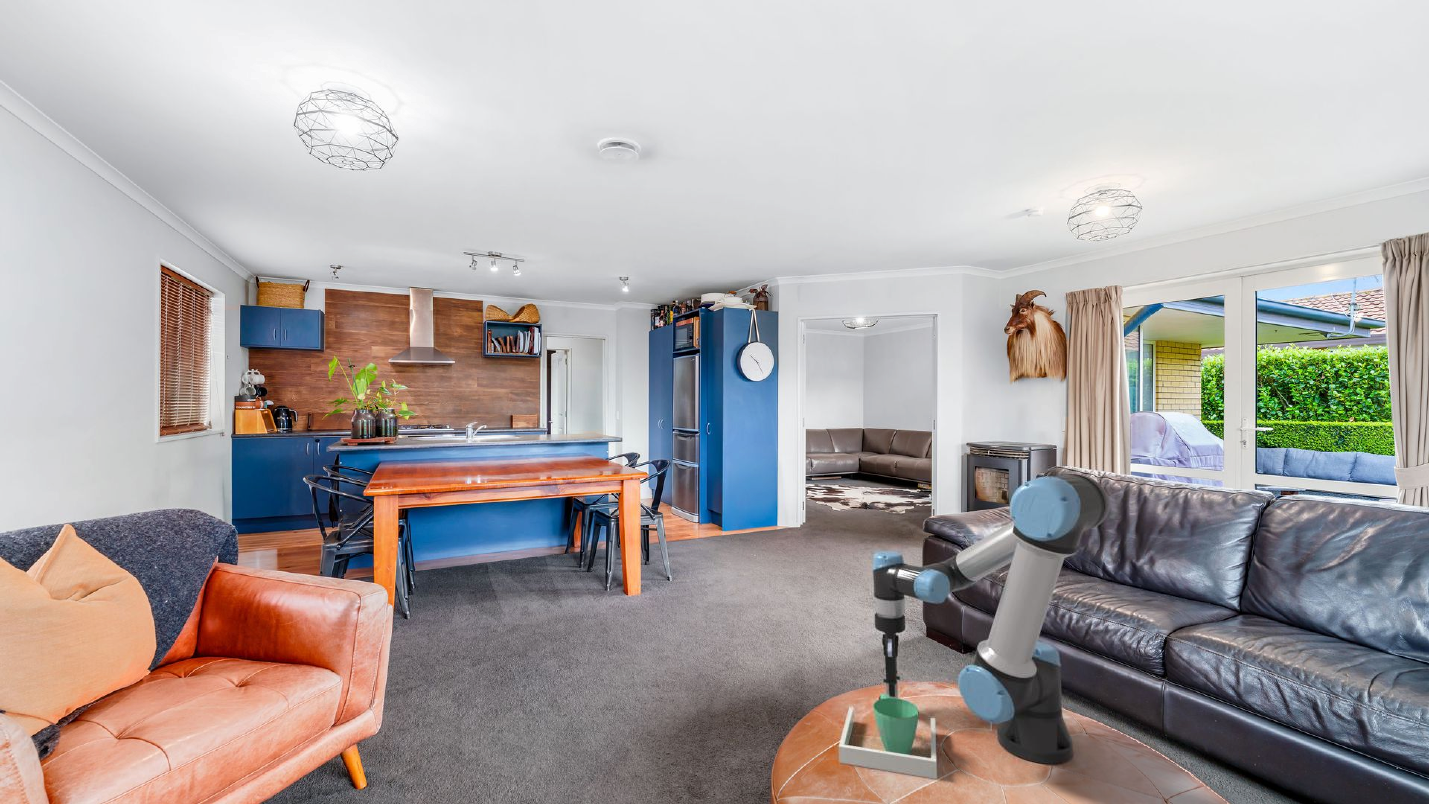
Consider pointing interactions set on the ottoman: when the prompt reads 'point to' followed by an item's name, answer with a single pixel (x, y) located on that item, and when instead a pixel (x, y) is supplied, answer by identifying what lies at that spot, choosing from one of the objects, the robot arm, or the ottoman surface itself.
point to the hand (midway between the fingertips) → (892, 707)
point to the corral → (886, 755)
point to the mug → (896, 723)
